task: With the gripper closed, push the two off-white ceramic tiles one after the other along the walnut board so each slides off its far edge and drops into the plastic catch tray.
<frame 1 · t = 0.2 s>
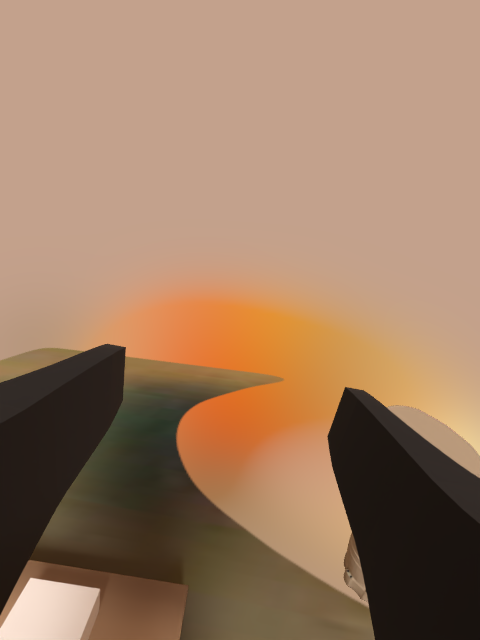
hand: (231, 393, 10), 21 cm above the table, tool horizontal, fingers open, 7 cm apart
handle: (359, 582, 26), on the table
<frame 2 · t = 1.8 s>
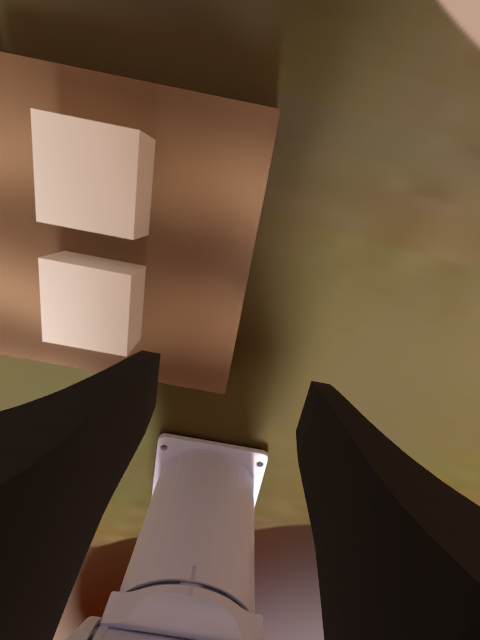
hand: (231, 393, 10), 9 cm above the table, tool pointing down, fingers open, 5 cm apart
board: (137, 242, 18), on the table
tile b: (107, 181, 14), point 3 cm above the table, touching board
tile a: (104, 297, 16), point 3 cm above the table, touching board
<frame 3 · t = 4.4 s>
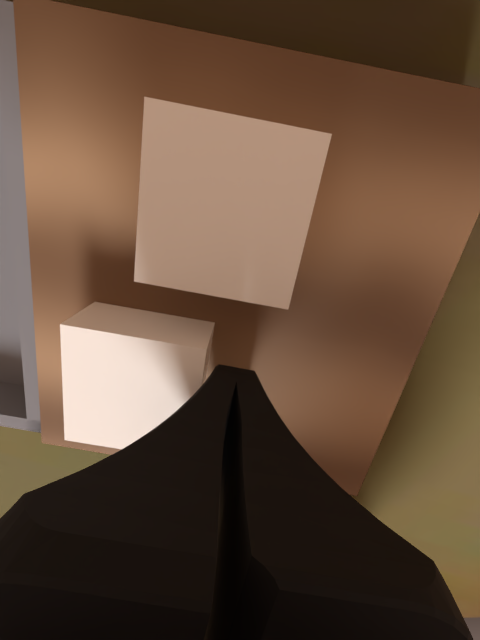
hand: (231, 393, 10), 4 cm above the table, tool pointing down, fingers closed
board: (234, 286, 13), on the table
tile b: (229, 211, 9), point 3 cm above the table, touching board
tile a: (151, 364, 11), point 3 cm above the table, touching gripper
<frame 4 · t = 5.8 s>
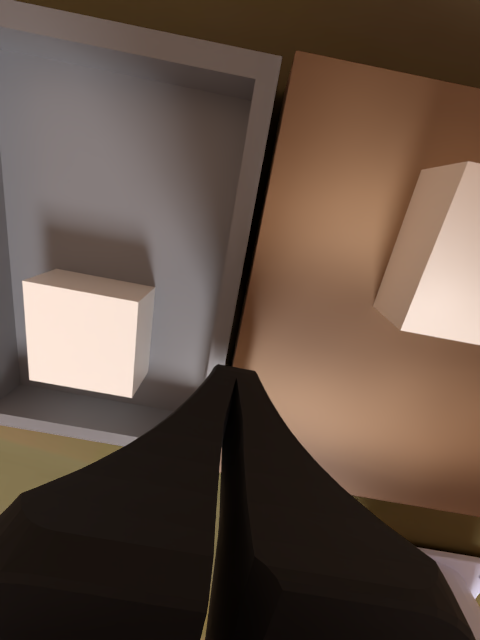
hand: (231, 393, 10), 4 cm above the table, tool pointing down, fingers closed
board: (397, 316, 13), on the table
tile b: (460, 255, 9), point 3 cm above the table, touching board
tile a: (80, 343, 11), point 2 cm above the table, tilted 180°, touching tray
tray: (122, 265, 13), on the table
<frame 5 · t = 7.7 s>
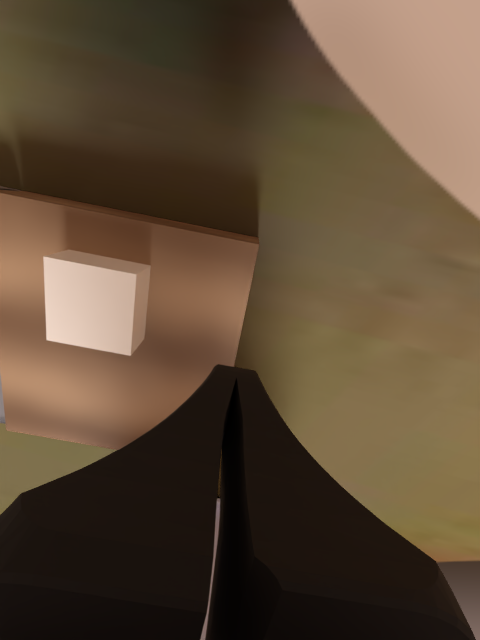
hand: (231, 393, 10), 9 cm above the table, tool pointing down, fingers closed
board: (135, 328, 20), on the table
tile b: (108, 296, 16), point 3 cm above the table, touching board
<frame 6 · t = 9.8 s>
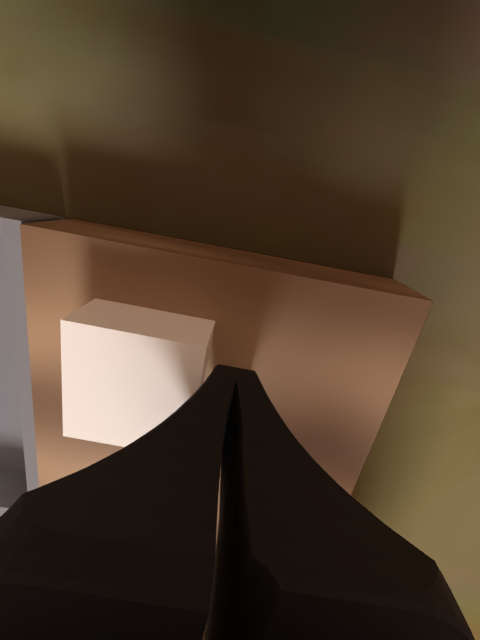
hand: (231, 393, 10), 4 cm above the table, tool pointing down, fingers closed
board: (210, 395, 15), on the table
tile b: (150, 362, 11), point 3 cm above the table, touching board, gripper
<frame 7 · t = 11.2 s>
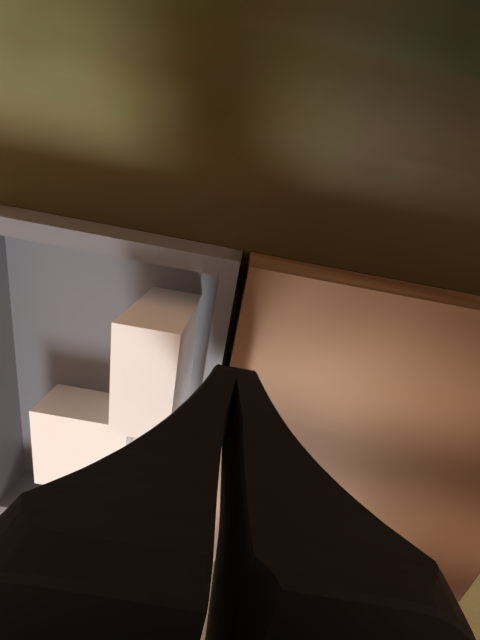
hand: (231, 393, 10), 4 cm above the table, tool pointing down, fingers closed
board: (354, 420, 15), on the table
tile b: (186, 361, 12), point 2 cm above the table, tilted 90°, touching tray
tile a: (78, 456, 13), point 2 cm above the table, tilted 180°, touching tray
tray: (114, 377, 15), on the table
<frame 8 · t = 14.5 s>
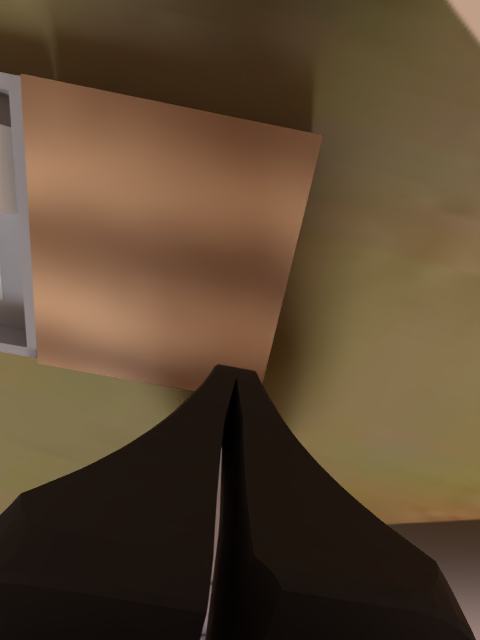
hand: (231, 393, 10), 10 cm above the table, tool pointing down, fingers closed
board: (173, 256, 19), on the table
tile b: (0, 170, 15), point 2 cm above the table, tilted 90°, touching tray
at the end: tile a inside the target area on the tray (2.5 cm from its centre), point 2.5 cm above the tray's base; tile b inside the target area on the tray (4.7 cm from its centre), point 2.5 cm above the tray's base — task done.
